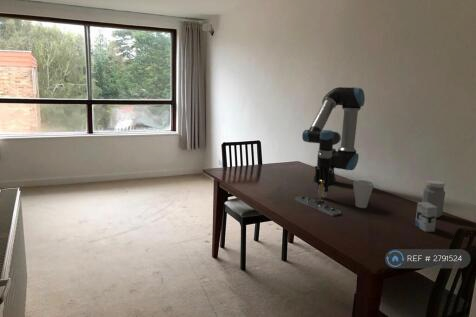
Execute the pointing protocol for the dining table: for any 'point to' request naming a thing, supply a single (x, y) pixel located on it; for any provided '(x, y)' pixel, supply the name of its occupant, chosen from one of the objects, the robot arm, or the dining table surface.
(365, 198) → the cup
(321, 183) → the pin
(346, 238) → the dining table surface
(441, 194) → the jar
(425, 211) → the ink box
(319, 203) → the grey long bar piece
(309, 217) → the dining table surface
